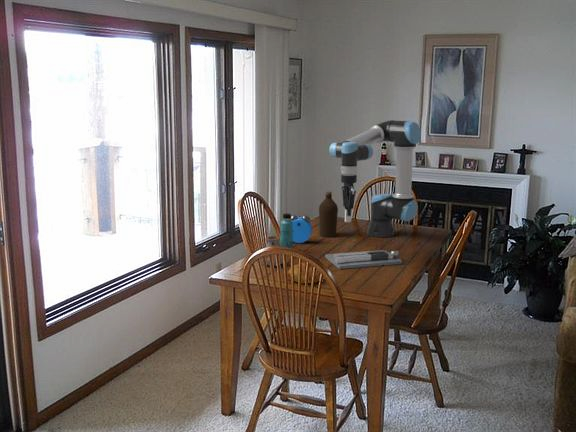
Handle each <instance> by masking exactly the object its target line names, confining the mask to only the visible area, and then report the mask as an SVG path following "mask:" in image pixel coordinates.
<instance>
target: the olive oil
mask: <svg viewBox="0 0 576 432" xmlns="http://www.w3.org/2000/svg"><path fill="white" fill-rule="evenodd" d="M332 193H333V192H332V191H329V190H328V191H325V199H324V200H323V201H322V202H321V203H320V204H319V205H318V206H319V207H318V217H319V219H318V221H319V222H318V223H319V225H318V226H319V227H318V228H319V230H318V231H319V236H320V237H322V238H334V237H336V236H337V229H338V228H337V226H338V214H339V207H338V204H337V203H336V202H335V200H334V199H333V198H332Z"/></svg>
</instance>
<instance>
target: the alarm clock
mask: <svg viewBox="0 0 576 432" xmlns="http://www.w3.org/2000/svg"><path fill="white" fill-rule="evenodd" d="M288 220H291V221H292V222H293V243H295V244H296V243H297V244H302V243H305V242H308V240H309V239H310V237H311V235H312V233H313V228H312V224H311V222H310V221H311V218H310V217H309V215H307V214H306V215H305V214H304V215H302V216H301V215H297V214H291V218H290V219H288Z"/></svg>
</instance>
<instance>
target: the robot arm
mask: <svg viewBox="0 0 576 432" xmlns="http://www.w3.org/2000/svg"><path fill="white" fill-rule="evenodd" d="M421 137H422V130H421V128H420V125H419V124H418V123H417V122H416V121H411V120H396V119H395V120H394V119H392V120H386V121H383V122H380V123H377V124H375V125H373V126H371V127H370V129H368V130H366V131H364V132H362V133H360V134H358V135H354V136H352V137H350V138H348V139H346V140H343V141H342V142H339V141H338V142H333V143H331V144H330V146H329V150H328V151H329V154H330V156H331V157H333V158H337V159H339V158H340V159H341V167H340V171H341V172H340V173H341V175H340V176H341V177H340V182H341V183H343V186H341V192H342V193H341V194H342V206H343V207H344V223H351V222H352V210H353V209H354V207H355V206H354V205H355V197H356V193H357V191H356V190H354V189H355V187H354V186H355V185H354V184H355V183H357V182H358V179H357V177H358V176H357V174H358V162H359V161H366V160H369V159H371V158H372V157H373V155H374V149H373V146H371V145H373V144H376V143H377V144H380V143H382V142H388V143H393V147H394V148H395V149H396V160H395V164H396V165H395V185H394V186H395V189H394V190H395V191H394V193H393V194H392V193H378V194H374V195H372V197H371V202H370V222H369V224H368V227H367V231H366V234H367V235H368V236H370V237H376V238H390V237H393V236H394V235H395V229H394V226H393V222H392V219H394V220H400V221H403V222H410V221H412V220H413V219H414V218H415V217H416V215H417V213H418V210H419V205H418V204H419V203H418V202H417V201H416V200H415V196H414V195H413V194H412V182H413V179H412V178H413V156H414V155H413V153H414V149H415V148H416V147H417V144H419V142H420V140H421Z"/></svg>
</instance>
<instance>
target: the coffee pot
mask: <svg viewBox="0 0 576 432" xmlns="http://www.w3.org/2000/svg"><path fill="white" fill-rule="evenodd" d="M265 239H266V241H267V244H266V246H265V248H266V247H269V246H279V247H281V246H280V236H274V235H272V236H271V235H270V236H267V237H266V238H265ZM261 262H263V260H262V259H261ZM280 263H281V265H282V264H283V263H282V258H281V257H280ZM267 265H268V267H271V266H270V260H269V257H268V258H267ZM267 265H266V266H267ZM273 267H277V266H276V259H275V258H274V266H273Z"/></svg>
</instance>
